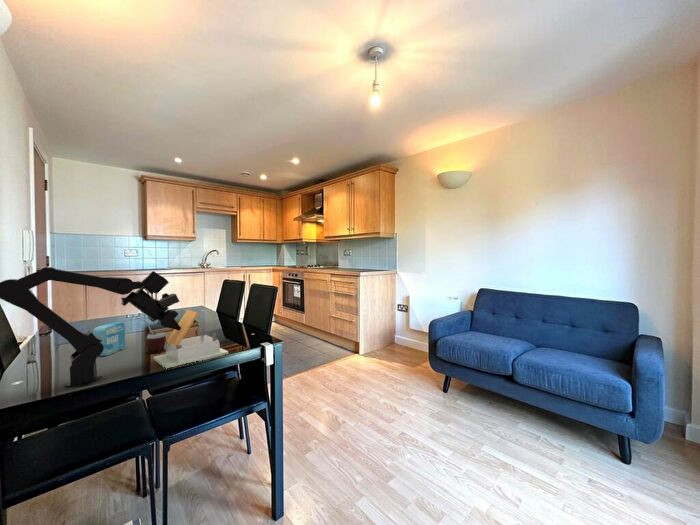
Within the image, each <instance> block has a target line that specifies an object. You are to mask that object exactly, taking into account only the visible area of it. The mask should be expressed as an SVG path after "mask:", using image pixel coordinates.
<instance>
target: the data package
mask: <svg viewBox="0 0 700 525" xmlns="http://www.w3.org/2000/svg"><path fill="white" fill-rule="evenodd" d="M125 328H126V326H125V322H122V321H121V322H110V323H106V324H103V325H99V326H97V327H94V329H93V332H92V333H93V334H94V335H95V336H97V337H100V339H101V340H102V342H101V343H102V345H103V347H104V348H103V352H102V353H101V354H100V356H99V357H107V355H108V356H110V355H112V354H111V353H113V352H115V351H117V352H119V351H118V350H120V349H122V348H124V349H125V347H126V333H125V332H126V331H125V330H126V329H125ZM122 350H123V349H122ZM120 351H121V350H120ZM115 353H116V352H115ZM109 354H110V355H109ZM113 354H114V353H113Z"/></svg>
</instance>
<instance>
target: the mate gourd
mask: <svg viewBox="0 0 700 525" xmlns="http://www.w3.org/2000/svg"><path fill="white" fill-rule="evenodd" d="M139 319H140V320H141V321H143V322H145V324H146V326H147V327H148V330H149V333H148V334H147V336H146V340H145V343H146V344H145V345H146V347H147V354H148V355H151V354H161V353H162V352H163V350H164V351H166V348H165V347H166V340H167V337H166V334H165V332H163V331H156V332H153V331H152V329H151V326H150V324H149V322H148V321H147V320H146V319H143V318H141V317H140V318H139Z"/></svg>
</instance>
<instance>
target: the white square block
mask: <svg viewBox="0 0 700 525" xmlns="http://www.w3.org/2000/svg"><path fill="white" fill-rule="evenodd" d="M199 332H200V335H197V336H192V337H188V338H187V337H186V338H183V339H182V340H181V342H180V343H179V345H178V346H176V347H175V346H173V345H171V344H170V343H168V342H165V354H166V355H167V356H169V357H170V358H172V359H173V360H174V361H176V362H177V363H181V362H185V361H189V360H193V359H197V358H201V357H205V356H209V355H213V354H217V353H220V348H221V347H220V346H221V345H220V340H219V339H217V333H216V332H213V333H212V336H209V335H208V334H205V330H204V328H203V327H201V328H200V329H199ZM166 341H167V339H166Z"/></svg>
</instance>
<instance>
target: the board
mask: <svg viewBox="0 0 700 525" xmlns="http://www.w3.org/2000/svg"><path fill="white" fill-rule="evenodd" d="M225 354H226V355H229V351H228V350H226V349H223V348H222V347H220V353H217V354H213V355H209V356H205V357H201V358H197V359H193V360H189V361H185V362H181V363H177V362H176V361H174V360H173V359H172V358H170V357H169V356H167V355H166V353H164V354H160V355H156V356H155V355H154V356H153V360H154V361H155V362H156V363H158V364H159V365H160V366H161V365H162V366H161V367H162V368H164V367H165V368H166V369H167V368H170V367H175V366H178V365H182V364H186V363H191V362H195V363H197V362H196V361H199V362H203V361H206V360H210V359H213V358H218V357H223V356H225ZM202 360H203V361H202ZM191 364H192V363H191ZM165 368H164V369H165ZM175 368H176V367H175ZM166 369H165V370H166Z"/></svg>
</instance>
